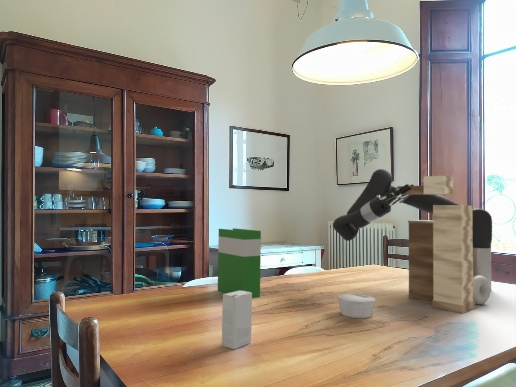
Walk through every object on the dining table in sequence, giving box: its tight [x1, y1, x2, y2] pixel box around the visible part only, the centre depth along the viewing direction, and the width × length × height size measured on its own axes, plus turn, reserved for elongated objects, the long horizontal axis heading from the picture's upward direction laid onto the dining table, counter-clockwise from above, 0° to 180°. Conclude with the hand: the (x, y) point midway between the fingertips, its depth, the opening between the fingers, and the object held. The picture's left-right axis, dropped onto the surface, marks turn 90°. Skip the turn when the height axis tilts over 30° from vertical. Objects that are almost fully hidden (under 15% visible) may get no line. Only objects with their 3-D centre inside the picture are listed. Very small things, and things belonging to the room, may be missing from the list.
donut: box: [473, 275, 491, 306], centre depth 135 cm, size 10×4×10 cm, turn 120°
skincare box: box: [221, 291, 253, 350], centre depth 92 cm, size 6×4×12 cm
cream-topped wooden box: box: [407, 219, 433, 301], centre depth 146 cm, size 12×13×28 cm
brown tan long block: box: [396, 175, 454, 196], centre depth 139 cm, size 7×18×6 cm, turn 41°
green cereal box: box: [217, 227, 262, 299], centre depth 147 cm, size 18×7×24 cm, turn 36°
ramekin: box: [337, 293, 376, 319], centre depth 120 cm, size 11×11×5 cm
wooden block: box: [431, 204, 476, 314], centre depth 130 cm, size 10×10×34 cm
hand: (411, 186), depth 142 cm, fingers closed on brown tan long block, 3 cm apart
